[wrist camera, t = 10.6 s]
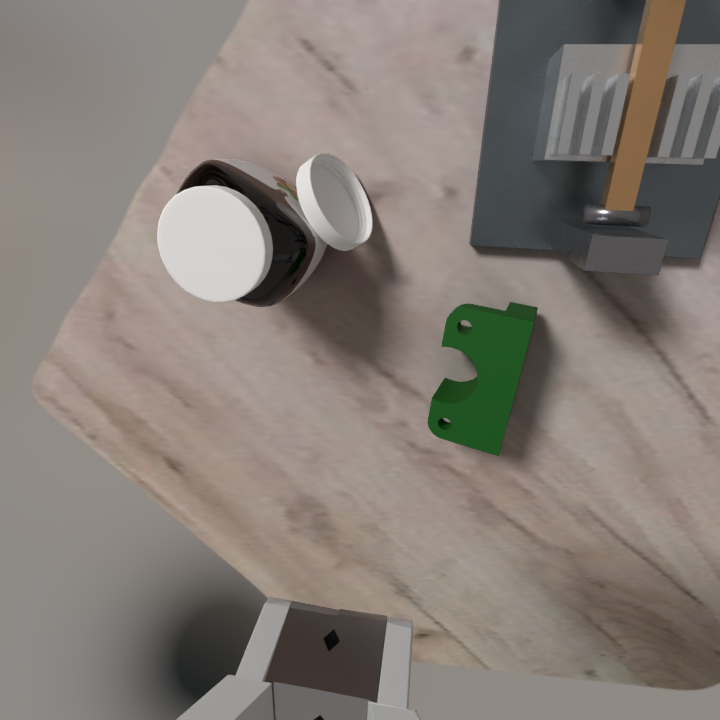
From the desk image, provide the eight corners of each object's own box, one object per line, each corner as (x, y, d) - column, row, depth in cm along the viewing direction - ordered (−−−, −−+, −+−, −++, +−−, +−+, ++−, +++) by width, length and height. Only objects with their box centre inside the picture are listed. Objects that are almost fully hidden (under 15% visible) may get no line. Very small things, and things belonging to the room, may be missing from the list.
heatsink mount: (781, -35, 27) (946, -133, 18) (691, 255, 34) (780, 286, 25) (502, -30, 29) (530, -115, 20) (469, 243, 36) (479, 267, 27)
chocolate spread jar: (202, 225, 39) (113, 246, 28) (270, 100, 34) (195, 70, 24) (317, 311, 40) (273, 362, 30) (397, 202, 36) (379, 216, 25)
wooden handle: (707, -38, 24) (720, -48, 23) (639, 225, 29) (647, 228, 28) (633, -37, 24) (642, -47, 23) (579, 222, 29) (584, 224, 28)
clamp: (467, 302, 42) (455, 281, 34) (535, 316, 40) (540, 297, 32) (434, 428, 43) (414, 439, 34) (500, 448, 41) (496, 464, 32)
